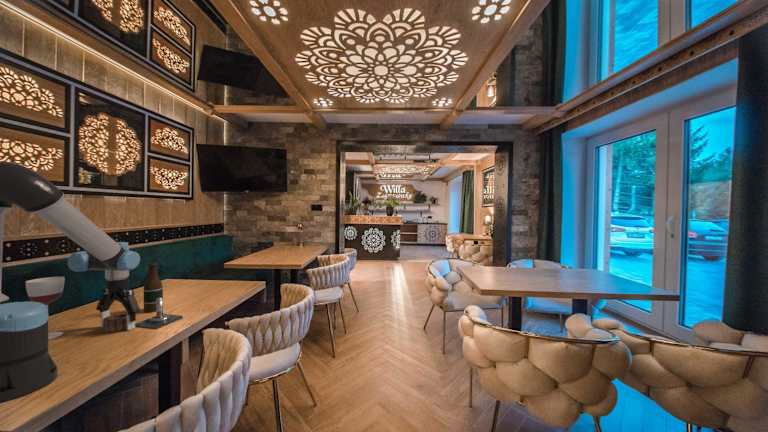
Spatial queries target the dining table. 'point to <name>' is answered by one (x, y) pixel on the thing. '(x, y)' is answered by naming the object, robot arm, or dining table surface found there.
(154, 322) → the post
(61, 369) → the dining table surface
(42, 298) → the wineglass
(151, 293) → the beer bottle
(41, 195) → the robot arm
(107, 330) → the ring
